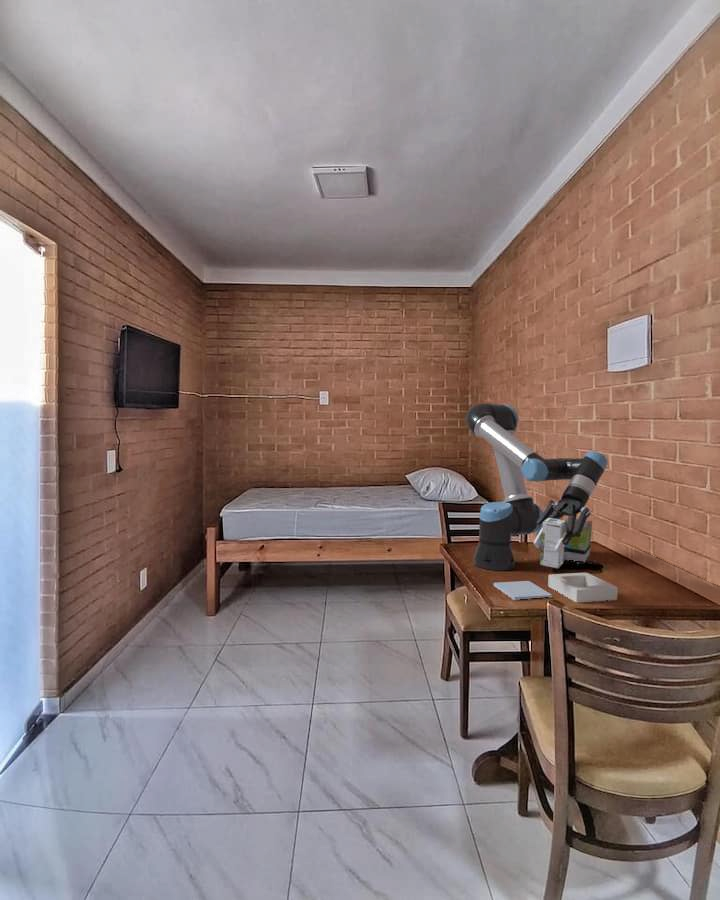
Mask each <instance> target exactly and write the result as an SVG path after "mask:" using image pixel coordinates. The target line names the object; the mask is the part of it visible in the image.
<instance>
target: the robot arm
mask: <svg viewBox="0 0 720 900" xmlns="http://www.w3.org/2000/svg"><path fill="white" fill-rule="evenodd" d="M465 424H466V426H467V428H468V430H469V431H470V432H471V433H472V434H473V435H474V436H476V437H477V438H483V439H484V440H485V441H486V442H488V443H489V444H490V445H491V446H492V448H493V452H494V456H495V460H496V465H497V469H498V474H499V477H500V481H501V487H502V490H503V495H504V500H502V501H497V502H496V501H492V502H487V503H485V504H483V505H482V506H481V507H480V514H479V531H478V532H479V533H478V534H479V535H478V536H479V538H478V544H477V547H476V550H475V552H474V555H473V561H472V562H473V564H474V566H477V567H479V568H482V569H485V570H491V571H510V570H513V569H514V568H515V562H516V561H515V557H514V554H513V550H512V546H511V541H512V537H513V536H522V535H525V536H527V535H530V534H533V533H535V534H536V537H535V539H534V541H533V542H532V543H533V545H534V546H535V547H536V548H537V549H539V548H540V546H541V543H542V528H543V521H545V520H546V519H548V518H555V519H560V518H563V517H564V516H568V517H567V518H568V526H567V531H566V532H567V533H566V532H564V533H563V534H562V536H561V538H560V540H559V542H558V543H557V545H556V547H555V551H556V552H557V554H560V553H561V551H562V550H563V548H564V546H565V545H568V543H569V541H570V540H571V538H572V537H575V536H576V537H580V534H581V532H582V529H583V527H584V524H585V522H586V520H587V519H588V518H589V517H590V516H591V514H592V512H591V510H590V509H589V508H588V506H587V507H586V504H587V503H588V501H589V499H590V497H591V495H592V493H593V492H594V490H595V489H596V486H597V485H598V483H599V481H600V479H601V477H602V476H603V474H604V473H605V471H606V468H607V466H608V463H609V462H608V459H607V457H606V456H605V455H604V454H603V453H600V452H599V451H595V450H593V451H592V450H590V451H588V452H586V453H585V455H584V456H583V457H582V458H567V457H566V458H565V457H555V458H545V457H542V456H541V455H539V454H538V453H537V452H536V451H534V450H533V449H531V447H529V446H527V445H526V444H525V443H524V442H522V441H521V440H520V439H518V438H517V437H516V436H515V435H516V432H517V431H516V429H517V428H518V424H519V415H518V413H517V410H515V408H514V407H512V406H511V405H508V404H503V403H498V404H497V403H496V404H495V403H476V404H474V405H473V406H471V407H470V408H469V409H468V411H467V412H466V414H465ZM524 479H525V480H527V481H529V482H548V481H563V480H565V481H567V480H568V481H569V482H568V484H567V487H566V488H565V490H564V491H563V493H562V496H561V498H560V499H559V500H558V501H553V500H552V499H551V500H549V502H548V506H547V507H546V508H545V509H544V511H543V510H542V509H541V507H540V506H539V505H538V504H536V503H534V499H533V497H532V496H531V495H529V494H528V492H527V488H526V484H525V480H524ZM579 513H580V514H579ZM578 514H579V516H578V518H577V515H578ZM576 519H578V521H577V523H576V526H575V520H576Z"/></svg>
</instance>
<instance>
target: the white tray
mask: <svg viewBox="0 0 720 900" xmlns="http://www.w3.org/2000/svg"><path fill="white" fill-rule="evenodd" d="M547 579H548V582H547V583H548V584H547V586H548V587H549V588H550V589H552V590H554V591H555V590H556V591H555V592H557V591H558V592H557V593H558V594H561V595H562V594H563V595H562V596H564V597H565V598H567V597H568V599H569V600H571V601H573V602H574V603H577V604H579V603H590V602H591V603H593V601H594V602H606V600H608V601H617V600H618V591H619V589H618V588H619V587H617V586H616V585H614V584H612V583H610V582H608V581H605V580H604V579H601V578H599V577H596V576H594V575H593V574H590V573H588V572H574V573H573V572H572V573H571V572H570V573H569V572H568V573H553V574H548V578H547Z"/></svg>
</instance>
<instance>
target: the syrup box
mask: <svg viewBox="0 0 720 900" xmlns="http://www.w3.org/2000/svg"><path fill="white" fill-rule="evenodd" d="M565 530H566V521H565V520H563V519H560V518H559V519H555V518H548V519H546V520H545V521H543V528H542V543H541V545H540V546H541V547H540V548H541V549H540V562H539V565H541V566H544V567H548V568H549V567H550V568H553V569H559V568H561V566H563V564H564V548H563V550H562V551H561V553H560V554H557V552H556V551H555V547H556V545H557V543H558V542H559V540H560V538H561V536H562V534H563V533H564V532H565Z"/></svg>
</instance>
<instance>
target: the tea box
mask: <svg viewBox="0 0 720 900" xmlns="http://www.w3.org/2000/svg"><path fill="white" fill-rule="evenodd" d="M568 518H569V517H567V518H566V519H565V520H564V521H566V530H565V532H566V531H567V526H568ZM577 521H578V518H576V520H575V526H576V523H577ZM592 528H593V520H589V519H588V520H587V519H586V522H585V524H584V527H583V529H582V532H581V534H580V537H576V536H575V537H572V538H571V540H570V541H569V543H568V545H565V546H564V560H565V561H569V560H575V561H583V562H584V563H586V561H587V559H588V558H589V556H590V555H591V542H592V530H593V529H592ZM566 533H567V532H566ZM564 560H563V561H564ZM575 561H574V562H575Z"/></svg>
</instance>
